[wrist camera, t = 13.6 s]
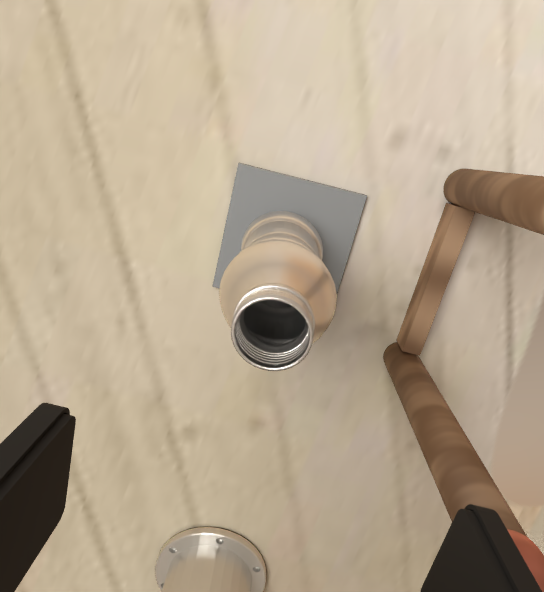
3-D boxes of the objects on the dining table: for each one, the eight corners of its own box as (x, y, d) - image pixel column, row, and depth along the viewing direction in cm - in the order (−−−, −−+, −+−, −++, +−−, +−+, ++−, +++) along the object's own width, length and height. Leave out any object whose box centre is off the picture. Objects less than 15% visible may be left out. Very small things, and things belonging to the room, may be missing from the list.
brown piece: (410, 376, 43) (546, 639, 20) (376, 367, 42) (472, 622, 20) (489, 171, 37) (819, 206, 14) (449, 161, 36) (713, 178, 13)
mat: (329, 313, 41) (330, 315, 40) (213, 284, 41) (212, 286, 40) (365, 195, 38) (367, 195, 37) (239, 162, 37) (238, 162, 37)
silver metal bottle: (265, 192, 37) (235, 234, 18) (335, 231, 38) (376, 309, 19) (231, 258, 39) (172, 358, 20) (299, 294, 40) (302, 422, 21)
